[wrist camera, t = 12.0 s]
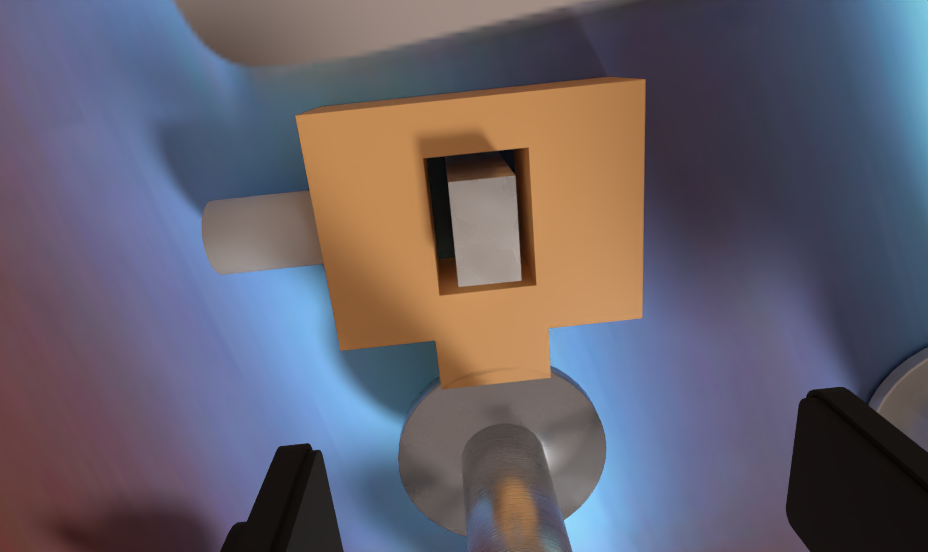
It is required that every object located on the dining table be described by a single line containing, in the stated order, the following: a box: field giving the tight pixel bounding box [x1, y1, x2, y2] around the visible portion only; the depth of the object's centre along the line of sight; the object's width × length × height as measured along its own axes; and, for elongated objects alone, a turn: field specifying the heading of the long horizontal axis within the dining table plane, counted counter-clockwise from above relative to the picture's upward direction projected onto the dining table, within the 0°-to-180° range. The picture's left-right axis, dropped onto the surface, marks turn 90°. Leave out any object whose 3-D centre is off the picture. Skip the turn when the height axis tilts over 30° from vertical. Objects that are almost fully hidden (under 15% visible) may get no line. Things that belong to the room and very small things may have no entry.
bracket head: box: [202, 77, 646, 390], centre depth 31 cm, size 22×15×6 cm
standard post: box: [398, 366, 606, 552], centre depth 27 cm, size 12×12×24 cm
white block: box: [445, 151, 522, 287], centre depth 30 cm, size 3×5×8 cm, turn 5°
